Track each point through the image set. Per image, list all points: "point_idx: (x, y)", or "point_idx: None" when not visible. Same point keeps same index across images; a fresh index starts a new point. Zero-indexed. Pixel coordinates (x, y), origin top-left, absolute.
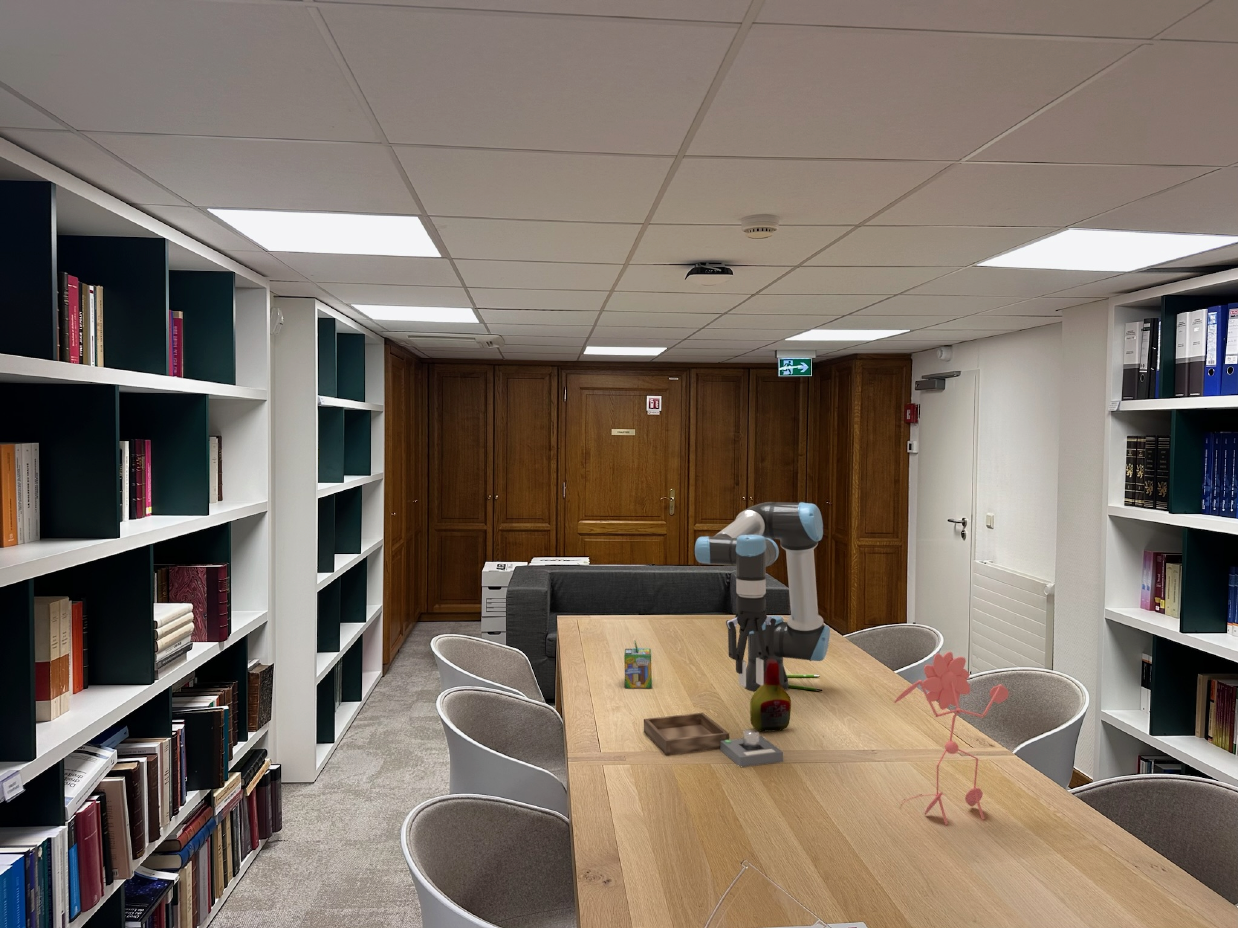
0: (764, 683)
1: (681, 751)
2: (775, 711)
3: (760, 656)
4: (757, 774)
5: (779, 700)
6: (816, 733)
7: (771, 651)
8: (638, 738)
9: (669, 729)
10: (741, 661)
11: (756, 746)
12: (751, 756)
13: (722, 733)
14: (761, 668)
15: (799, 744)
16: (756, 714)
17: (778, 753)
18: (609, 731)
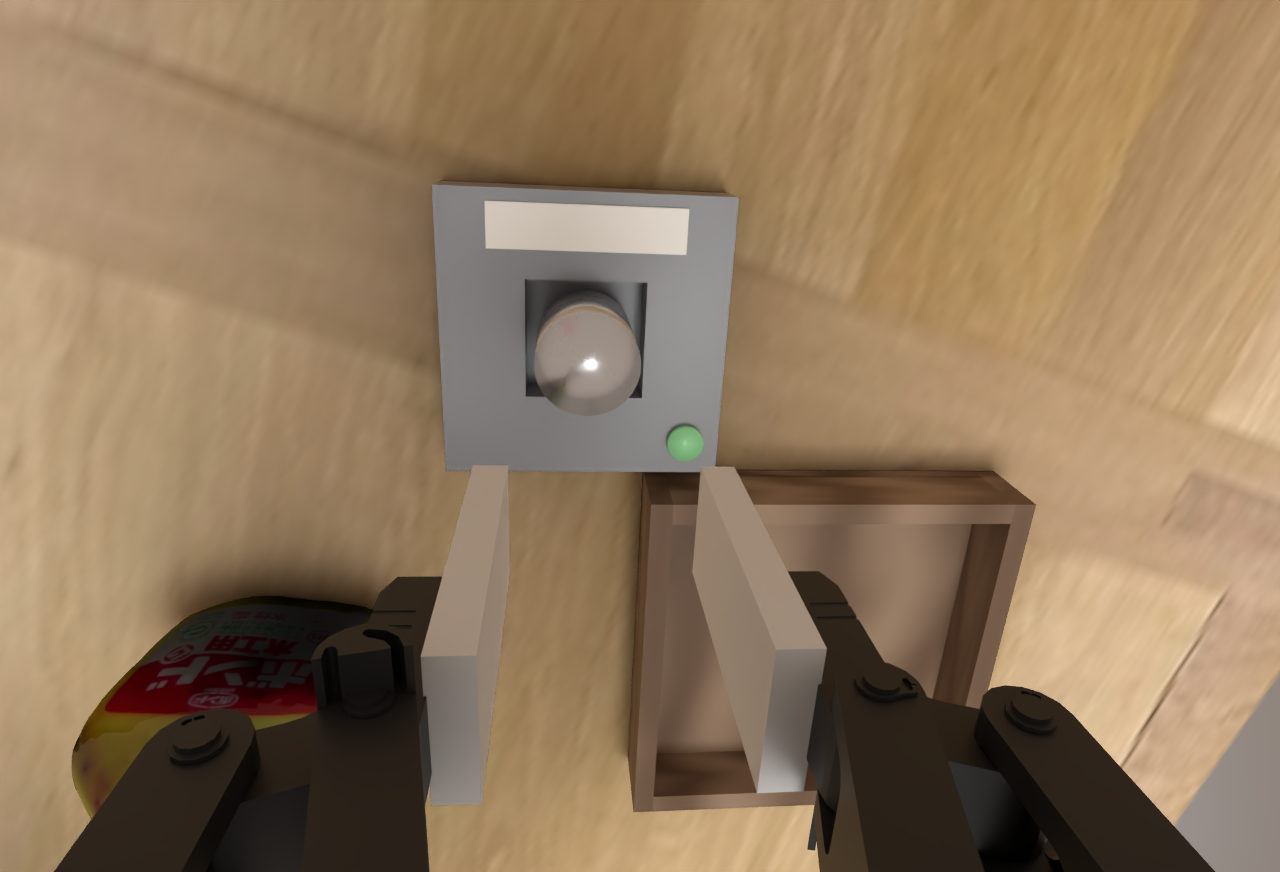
0: None
1: (916, 474)
2: (247, 659)
3: (424, 775)
4: (687, 51)
5: (183, 708)
6: (42, 513)
7: (165, 790)
8: None
9: None
10: (857, 661)
11: (572, 297)
12: (660, 194)
13: (688, 515)
14: (479, 571)
15: (221, 391)
16: None
17: (467, 185)
18: None
